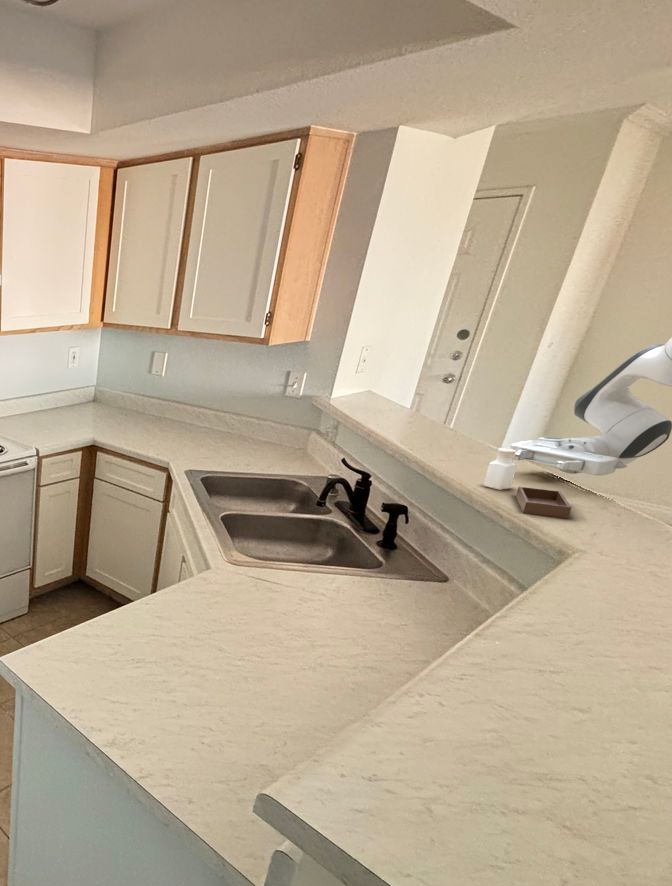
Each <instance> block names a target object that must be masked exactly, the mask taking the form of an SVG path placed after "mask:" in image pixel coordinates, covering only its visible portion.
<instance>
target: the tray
mask: <svg viewBox="0 0 672 886" xmlns="http://www.w3.org/2000/svg"><path fill="white" fill-rule="evenodd" d="M515 498H516V500H517V502H518V505H519V507H520V509H521V512H522V513H523V514H531V515H538V516H545V517H553V518H562V519H569V517H570V513H571V510H572V505H570V503H569V501H568V500H567V499H566V497H565V495H564V494H563V493H562V491H560V490H553V489H543V488H537V487H527V486H518V488H517V491H516V493H515Z"/></svg>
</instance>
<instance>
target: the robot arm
mask: <svg viewBox="0 0 672 886" xmlns="http://www.w3.org/2000/svg"><path fill="white" fill-rule="evenodd" d="M641 378H642V379H646V380H650V381H653V382H655V383H657V384H660V385H664V386H668V387H672V336H671V337H670V339H668V341H667V342H666V343H665V344H661V343H655V344H652V345H650V346H647V347H645V348H643V349H641V350H638V351H637V352H636V353H634V354H632V355H630V357H628V358H627V359H626V360H624V361H623V362H622V363H621V364H620V365H618V366H617V367H616V368H615V369H614V370H612V371H611V372H610V373H609V374H608V375H607V376H605V377H604V378H603V379H602V380H601V381H600V382H599V383H598V384H596V385H595V386H593V387H592V388H591V389H589V390H588V391H586V392H585V393H584V394H581V396H579V397H578V398H577V399H576V400H575V403H574V406H573V407H574V408H573V409H574V410H573V414H574V416H575V417H577V418H578V419H580V420H582V421H583V422H585V423H587V424H589V425H590V426H591V427H593V428H595V430H596V431H598V432H600V433H601V434H602V435H595V436H594V435H593V436H589V437H588V436H585V437H569V438H562V437H551V436H550V437H549V436H547V437H546V436H541V437H540V436H539V437H537V439H529V440H528V439H527V440H522V441H515V442H512V443H510V444H509V445H508V448H507V449H513V450H516V454H515V458H514V459H513V461H514V460H515V461H524V462H529V463H535V464H537V465H538V464H539V465H544V466H549V467H552V468H554V469H557V470H559V471H561V472H564V473H566V474H570V475H571V474H572V475H574V474H575V475H576V474H588V475H591V476H601V477H602V476H607V475H611V474H614V473H615V472H616V470H619V469H626V468H627V467H628V464H630V463H632V462H634V461H636V460H637V459H638V458H641V457H644V456H646V455H649V454H650V453H651V452H653V451H656V449H658V448H659V447H661V446H662V445H664V443H665V442H666V441H668V440H669V438H670V435H671V433H672V421H671V420H670V419H668V418H667V417H666V416H664V415H663V414H662V413H660V412H659V411H657V410H656V409H654V408H653V407H651V406H650V405H649V404H647V403H646V402H645V401H642V400H641V399H640V398H639V397H636V396H635V395H634V394H633V393H632V392H631V391H630V388H629V387H630V386H631V385H633V384H634V383H636V381H638V380H640V379H641Z"/></svg>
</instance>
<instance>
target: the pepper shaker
mask: <svg viewBox="0 0 672 886" xmlns="http://www.w3.org/2000/svg"><path fill="white" fill-rule="evenodd" d="M515 454H516V450H513V449H508V448H503V447H502V448H498V449H497V453H496V458H495V460H493V461H490V462H489V464H488V467H487V470H486V474H485V478H484V481H483V486H484V487H486V488H491V489H494V490H499V491H500V490H501V491H502V490H508V489H510V488H512V484H513V481H514V478H515V474H516V471H517V468H518V465H517V464H516V463H514V458H515Z"/></svg>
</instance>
